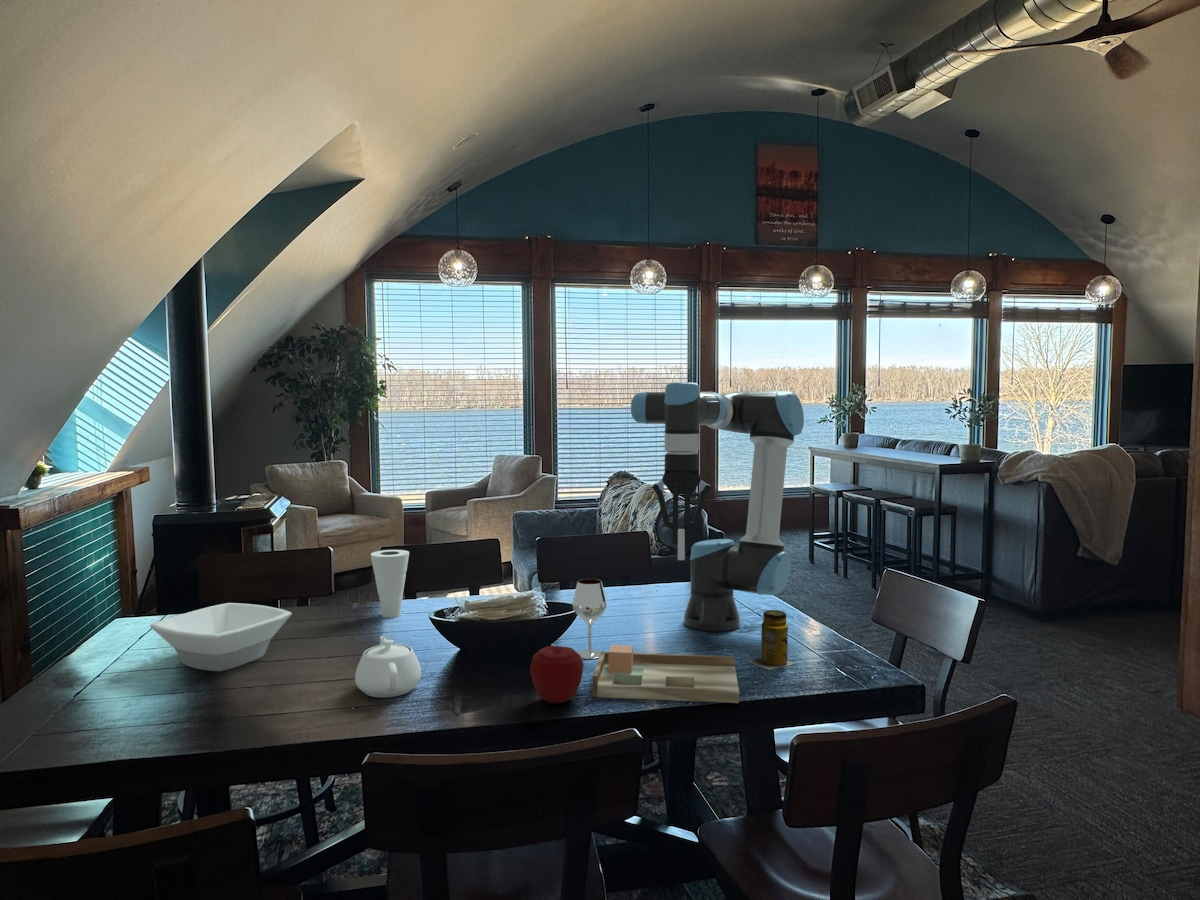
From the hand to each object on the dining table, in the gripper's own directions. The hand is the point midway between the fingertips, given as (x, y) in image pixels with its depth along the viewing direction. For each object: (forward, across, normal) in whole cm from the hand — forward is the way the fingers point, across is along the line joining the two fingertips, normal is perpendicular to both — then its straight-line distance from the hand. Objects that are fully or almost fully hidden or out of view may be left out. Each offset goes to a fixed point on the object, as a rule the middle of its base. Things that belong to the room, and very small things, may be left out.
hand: (681, 558), depth 177 cm
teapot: (+27, +62, +15) cm, 69 cm away
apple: (+27, +25, +18) cm, 41 cm away
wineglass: (+27, +22, -12) cm, 37 cm away
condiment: (+27, -21, -11) cm, 36 cm away
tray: (+26, +3, +7) cm, 27 cm away
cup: (+27, +83, -41) cm, 96 cm away
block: (+24, +13, +4) cm, 28 cm away
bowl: (+27, +108, +1) cm, 111 cm away
